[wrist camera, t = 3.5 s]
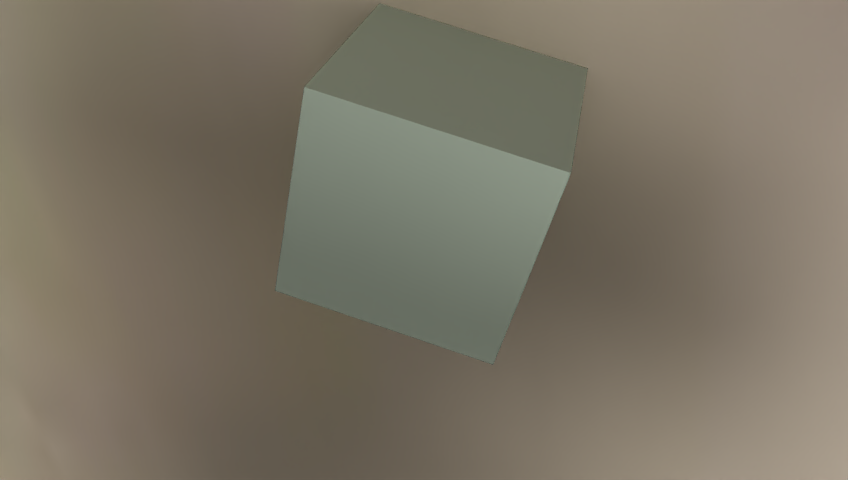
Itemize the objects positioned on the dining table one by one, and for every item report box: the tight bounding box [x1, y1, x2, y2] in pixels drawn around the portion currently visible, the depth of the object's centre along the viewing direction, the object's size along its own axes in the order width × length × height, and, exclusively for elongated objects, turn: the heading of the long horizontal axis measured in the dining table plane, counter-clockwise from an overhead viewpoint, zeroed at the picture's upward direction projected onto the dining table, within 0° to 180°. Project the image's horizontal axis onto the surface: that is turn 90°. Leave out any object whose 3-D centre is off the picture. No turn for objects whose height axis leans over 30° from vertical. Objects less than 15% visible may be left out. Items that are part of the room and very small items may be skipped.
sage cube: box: [275, 3, 588, 365], centre depth 15 cm, size 4×4×4 cm
